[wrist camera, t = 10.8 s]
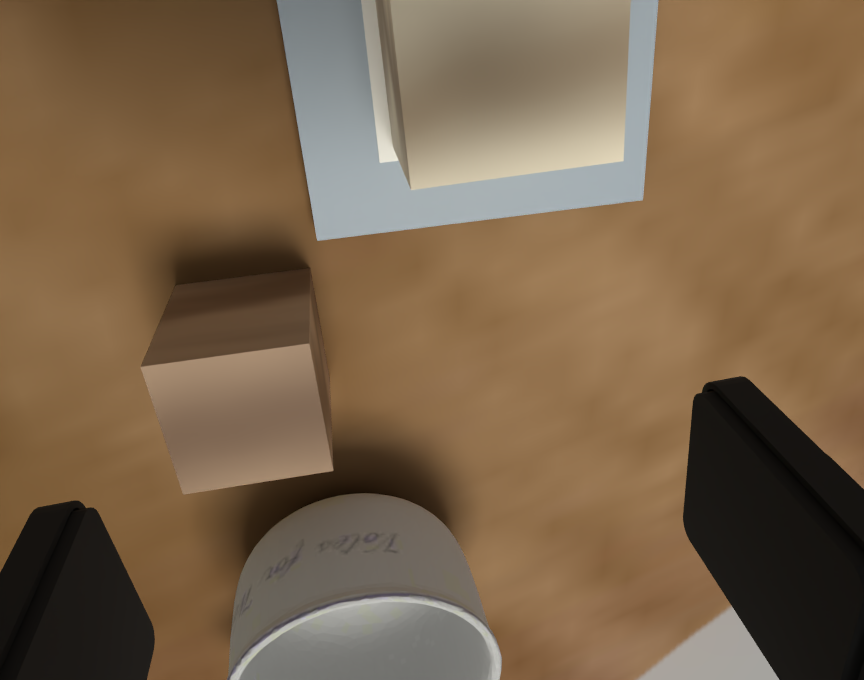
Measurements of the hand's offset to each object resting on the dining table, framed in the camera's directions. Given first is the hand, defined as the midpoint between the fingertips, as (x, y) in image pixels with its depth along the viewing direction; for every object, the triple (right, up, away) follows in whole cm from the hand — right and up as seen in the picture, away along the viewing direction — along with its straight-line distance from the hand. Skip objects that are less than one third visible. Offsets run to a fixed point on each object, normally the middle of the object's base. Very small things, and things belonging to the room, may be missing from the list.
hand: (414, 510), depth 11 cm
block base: (+2, +12, +11) cm, 17 cm away
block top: (-7, +3, +16) cm, 18 cm away
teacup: (-5, -8, +23) cm, 25 cm away
